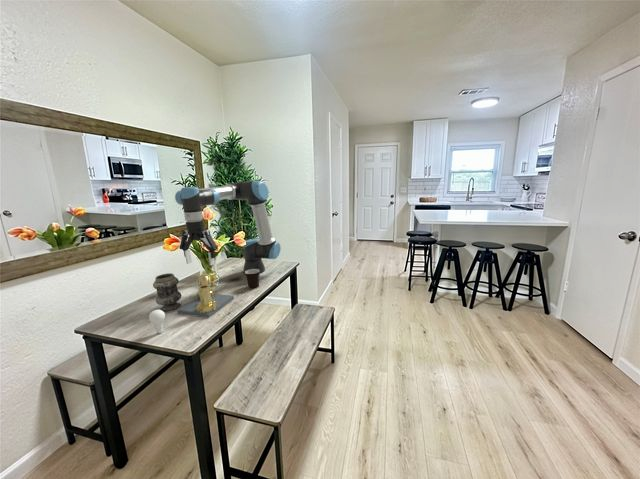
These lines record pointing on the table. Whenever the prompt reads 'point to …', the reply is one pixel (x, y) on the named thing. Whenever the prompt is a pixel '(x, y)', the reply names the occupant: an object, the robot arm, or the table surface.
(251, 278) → the coffee mug
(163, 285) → the apothecary jar
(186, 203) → the robot arm
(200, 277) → the seated planet gear
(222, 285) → the table surface
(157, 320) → the lightbulb
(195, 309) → the carrier plate
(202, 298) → the gear
